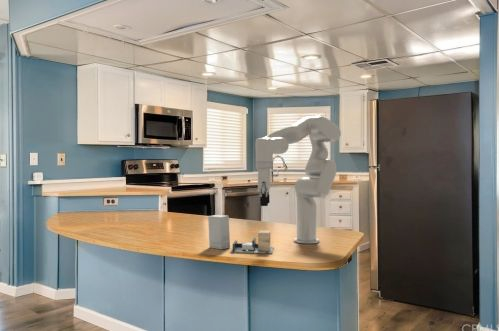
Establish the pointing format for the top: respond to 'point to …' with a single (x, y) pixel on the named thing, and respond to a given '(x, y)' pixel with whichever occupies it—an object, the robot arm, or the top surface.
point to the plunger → (249, 245)
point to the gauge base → (238, 249)
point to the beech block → (264, 241)
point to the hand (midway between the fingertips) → (265, 204)
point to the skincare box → (219, 232)
